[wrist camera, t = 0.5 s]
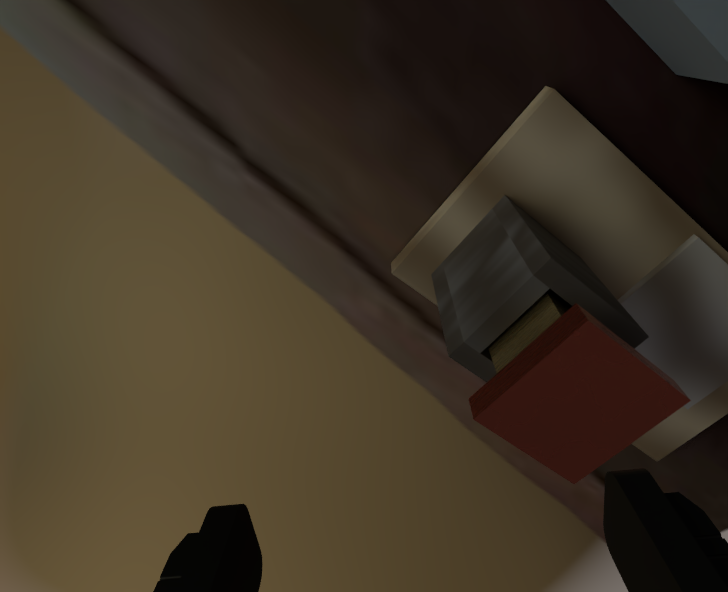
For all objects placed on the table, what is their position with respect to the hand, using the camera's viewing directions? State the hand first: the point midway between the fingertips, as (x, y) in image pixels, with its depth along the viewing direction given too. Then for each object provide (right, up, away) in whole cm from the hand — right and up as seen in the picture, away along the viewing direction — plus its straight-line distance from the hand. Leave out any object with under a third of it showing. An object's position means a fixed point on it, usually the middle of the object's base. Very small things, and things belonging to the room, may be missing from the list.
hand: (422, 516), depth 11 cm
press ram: (+7, +4, +14) cm, 16 cm away
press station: (+14, +5, +21) cm, 26 cm away
